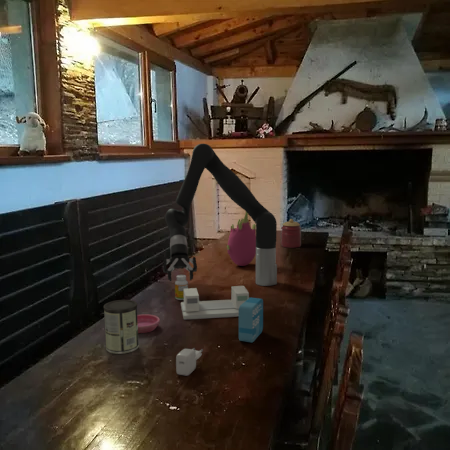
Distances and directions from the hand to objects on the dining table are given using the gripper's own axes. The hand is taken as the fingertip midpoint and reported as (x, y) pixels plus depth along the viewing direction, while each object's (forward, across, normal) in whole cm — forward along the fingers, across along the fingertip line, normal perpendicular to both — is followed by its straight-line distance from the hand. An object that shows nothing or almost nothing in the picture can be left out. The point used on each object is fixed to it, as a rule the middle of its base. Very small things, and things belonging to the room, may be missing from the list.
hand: (180, 279), depth 203 cm
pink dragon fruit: (-31, +36, +42) cm, 63 cm away
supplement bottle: (+6, 0, +5) cm, 8 cm away
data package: (+39, +20, -28) cm, 52 cm away
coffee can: (+40, -22, -29) cm, 54 cm away
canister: (-64, +77, +75) cm, 125 cm away
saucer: (+29, -16, -17) cm, 37 cm away
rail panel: (+19, +12, -8) cm, 24 cm away
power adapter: (+53, -2, -42) cm, 67 cm away
